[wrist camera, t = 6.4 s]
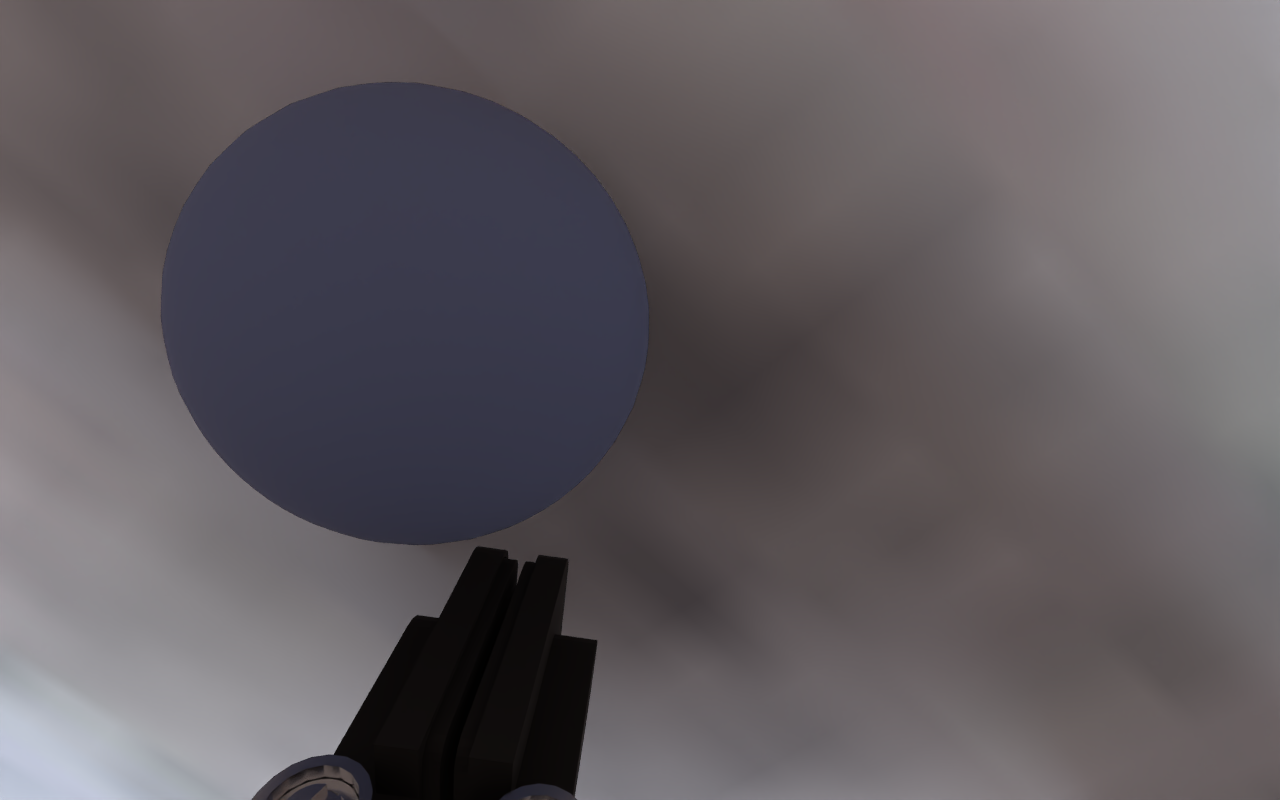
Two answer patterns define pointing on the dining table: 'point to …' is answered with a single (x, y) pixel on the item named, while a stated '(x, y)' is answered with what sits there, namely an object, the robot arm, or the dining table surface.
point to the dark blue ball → (405, 313)
